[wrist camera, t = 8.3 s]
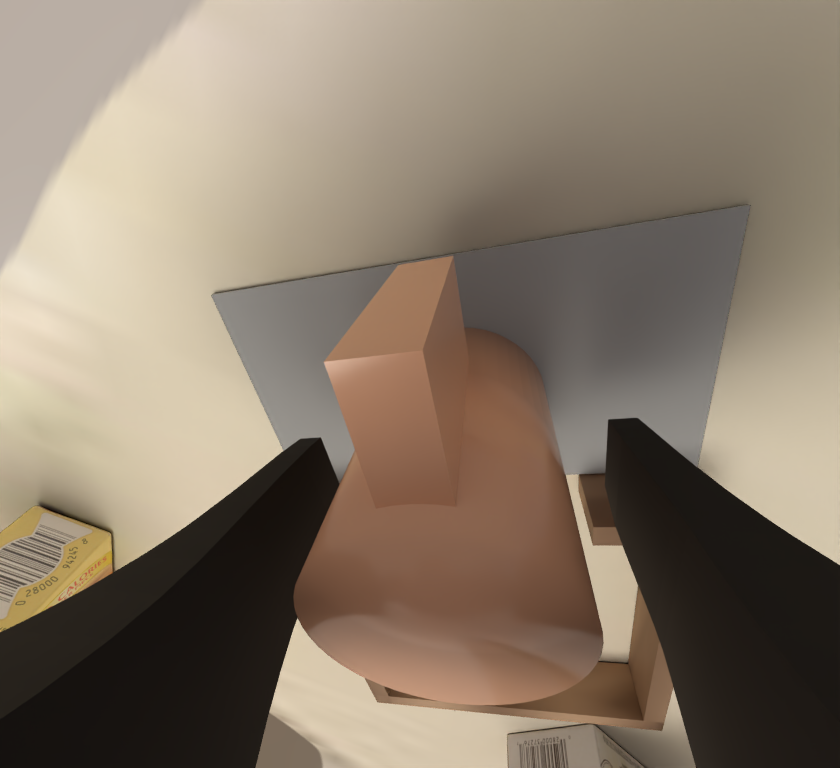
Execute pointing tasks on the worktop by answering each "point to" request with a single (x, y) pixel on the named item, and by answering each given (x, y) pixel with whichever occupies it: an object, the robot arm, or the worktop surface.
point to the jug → (447, 512)
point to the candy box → (48, 562)
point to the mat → (530, 330)
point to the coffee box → (567, 749)
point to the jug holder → (608, 682)
